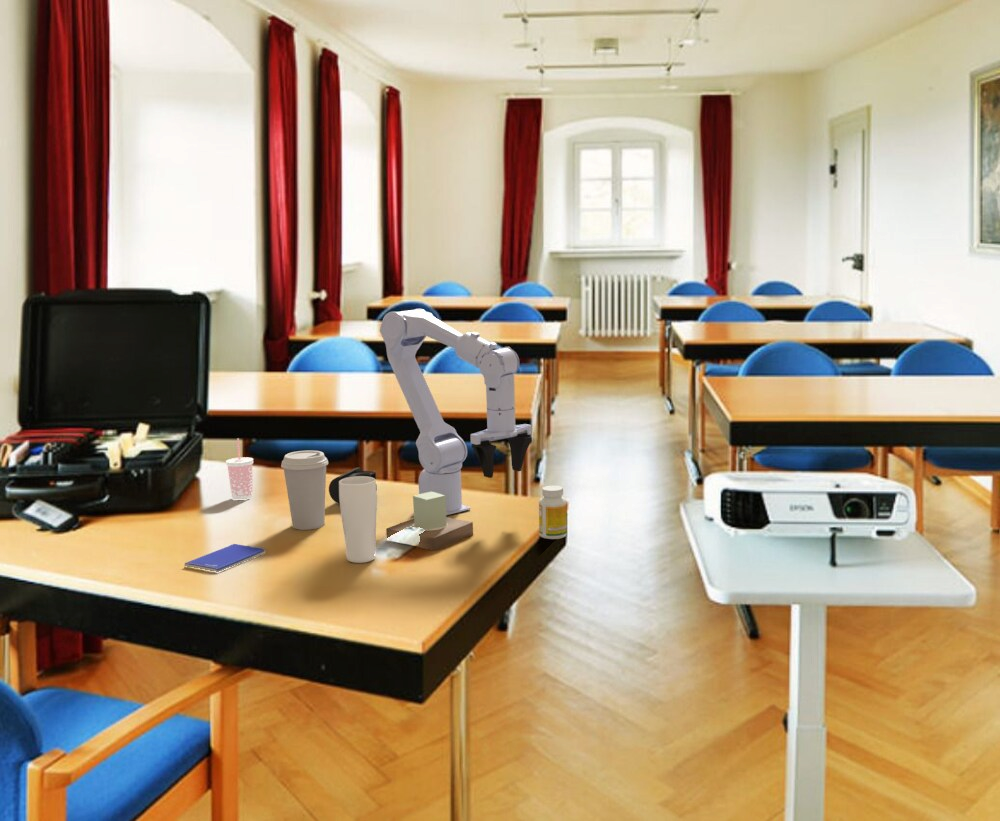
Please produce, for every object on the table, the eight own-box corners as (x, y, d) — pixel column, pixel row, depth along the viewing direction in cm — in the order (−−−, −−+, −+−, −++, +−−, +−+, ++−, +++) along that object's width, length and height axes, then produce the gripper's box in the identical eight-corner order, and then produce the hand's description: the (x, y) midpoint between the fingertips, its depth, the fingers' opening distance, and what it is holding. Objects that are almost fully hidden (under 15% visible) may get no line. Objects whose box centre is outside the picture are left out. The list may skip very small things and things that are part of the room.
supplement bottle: (533, 536, 198) (532, 488, 197) (551, 530, 202) (550, 483, 201) (555, 541, 195) (554, 492, 193) (572, 535, 199) (571, 487, 197)
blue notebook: (217, 568, 182) (264, 548, 192) (184, 562, 186) (232, 543, 196) (218, 576, 182) (265, 556, 193) (184, 570, 186) (233, 550, 197)
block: (414, 525, 199) (413, 495, 198) (432, 520, 202) (431, 491, 201) (427, 530, 196) (426, 499, 195) (446, 525, 199) (445, 495, 198)
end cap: (350, 495, 235) (348, 466, 233) (378, 496, 232) (376, 467, 231) (329, 506, 225) (327, 476, 224) (357, 508, 223) (356, 478, 222)
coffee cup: (300, 535, 204) (295, 461, 201) (276, 525, 211) (271, 455, 208) (340, 525, 210) (336, 454, 207) (316, 516, 217) (312, 447, 215)
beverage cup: (244, 502, 230) (239, 442, 228) (223, 500, 233) (218, 440, 230) (261, 496, 236) (257, 436, 233) (240, 493, 238) (236, 435, 236)
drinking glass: (338, 557, 189) (334, 478, 187) (374, 551, 192) (369, 474, 189) (348, 567, 183) (343, 486, 180) (384, 561, 186) (380, 481, 183)
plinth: (386, 541, 198) (386, 528, 198) (426, 525, 208) (425, 513, 207) (434, 550, 191) (434, 537, 191) (473, 534, 201) (472, 521, 200)
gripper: (485, 415, 198) (487, 483, 201) (540, 405, 207) (542, 470, 210) (463, 411, 204) (465, 477, 206) (518, 401, 213) (519, 465, 215)
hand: (502, 473), depth 208 cm, fingers open, 7 cm apart
